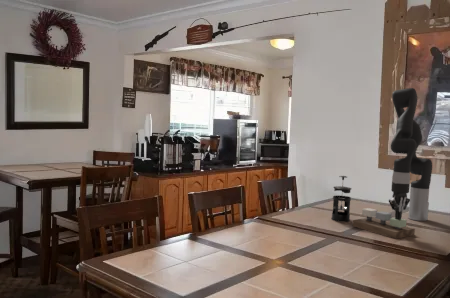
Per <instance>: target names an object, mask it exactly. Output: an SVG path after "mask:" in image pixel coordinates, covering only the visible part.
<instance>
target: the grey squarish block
mask: <svg viewBox="0 0 450 298" xmlns="http://www.w3.org/2000/svg"><path fill="white" fill-rule="evenodd" d="M392 216H393V215H392V213H391V212H387V211H377V212H376V216H375V218H376V219H380V220H381V221H380V225H386V221H390V219H391V218H392Z"/></svg>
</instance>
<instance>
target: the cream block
mask: <svg viewBox="0 0 450 298" xmlns="http://www.w3.org/2000/svg"><path fill="white" fill-rule="evenodd" d="M376 212H378V209H374V208H370V207H366V208H362V210H361V215H362V216H364V217H366V218H367V221H372V218H376Z"/></svg>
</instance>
